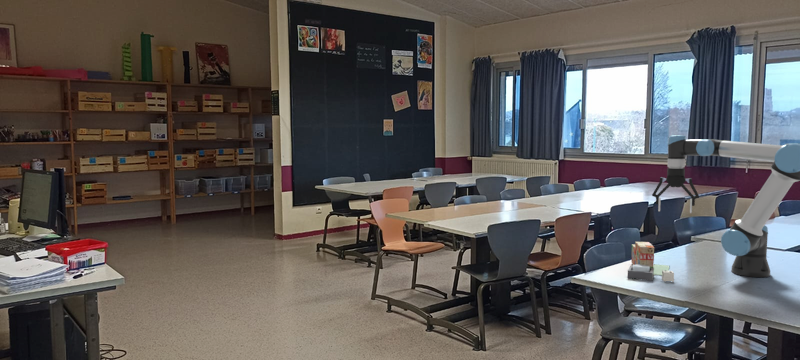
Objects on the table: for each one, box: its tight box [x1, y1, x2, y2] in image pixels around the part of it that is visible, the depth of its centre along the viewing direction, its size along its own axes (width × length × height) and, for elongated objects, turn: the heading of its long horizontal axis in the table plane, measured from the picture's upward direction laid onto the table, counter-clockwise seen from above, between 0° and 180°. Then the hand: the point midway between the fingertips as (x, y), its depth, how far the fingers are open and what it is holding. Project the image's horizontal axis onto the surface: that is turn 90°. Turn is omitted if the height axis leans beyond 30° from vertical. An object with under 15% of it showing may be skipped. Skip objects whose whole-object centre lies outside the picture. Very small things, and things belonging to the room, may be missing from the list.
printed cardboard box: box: [631, 241, 655, 268], centre depth 269 cm, size 21×6×12 cm, turn 167°
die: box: [661, 270, 675, 283], centre depth 247 cm, size 4×4×4 cm
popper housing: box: [627, 265, 655, 282], centre depth 253 cm, size 10×10×4 cm
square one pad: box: [653, 263, 670, 277], centre depth 266 cm, size 7×22×1 cm, turn 152°
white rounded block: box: [632, 264, 650, 272], centre depth 253 cm, size 7×7×4 cm
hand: (674, 211), depth 272 cm, fingers open, 13 cm apart
